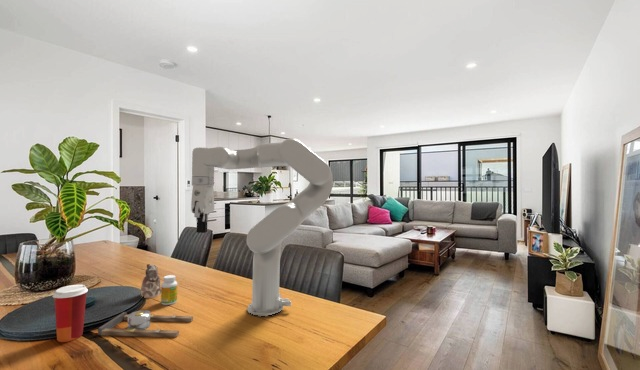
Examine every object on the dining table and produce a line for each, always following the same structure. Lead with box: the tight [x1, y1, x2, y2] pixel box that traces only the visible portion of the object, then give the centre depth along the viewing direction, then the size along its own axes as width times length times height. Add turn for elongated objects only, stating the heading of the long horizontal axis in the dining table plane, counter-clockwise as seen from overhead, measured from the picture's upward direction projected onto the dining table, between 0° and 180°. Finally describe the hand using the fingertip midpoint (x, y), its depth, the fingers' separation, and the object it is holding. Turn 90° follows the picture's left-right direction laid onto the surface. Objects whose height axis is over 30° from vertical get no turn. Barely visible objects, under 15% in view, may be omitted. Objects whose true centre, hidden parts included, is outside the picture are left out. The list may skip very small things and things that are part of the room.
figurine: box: [140, 263, 162, 299], centre depth 117 cm, size 7×7×12 cm
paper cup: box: [51, 284, 89, 343], centre depth 85 cm, size 8×8×14 cm
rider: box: [126, 309, 151, 330], centre depth 91 cm, size 6×6×4 cm
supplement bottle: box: [160, 274, 178, 306], centre depth 110 cm, size 5×5×10 cm
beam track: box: [97, 311, 194, 338], centre depth 91 cm, size 23×11×2 cm, turn 89°
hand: (201, 232), depth 107 cm, fingers closed
